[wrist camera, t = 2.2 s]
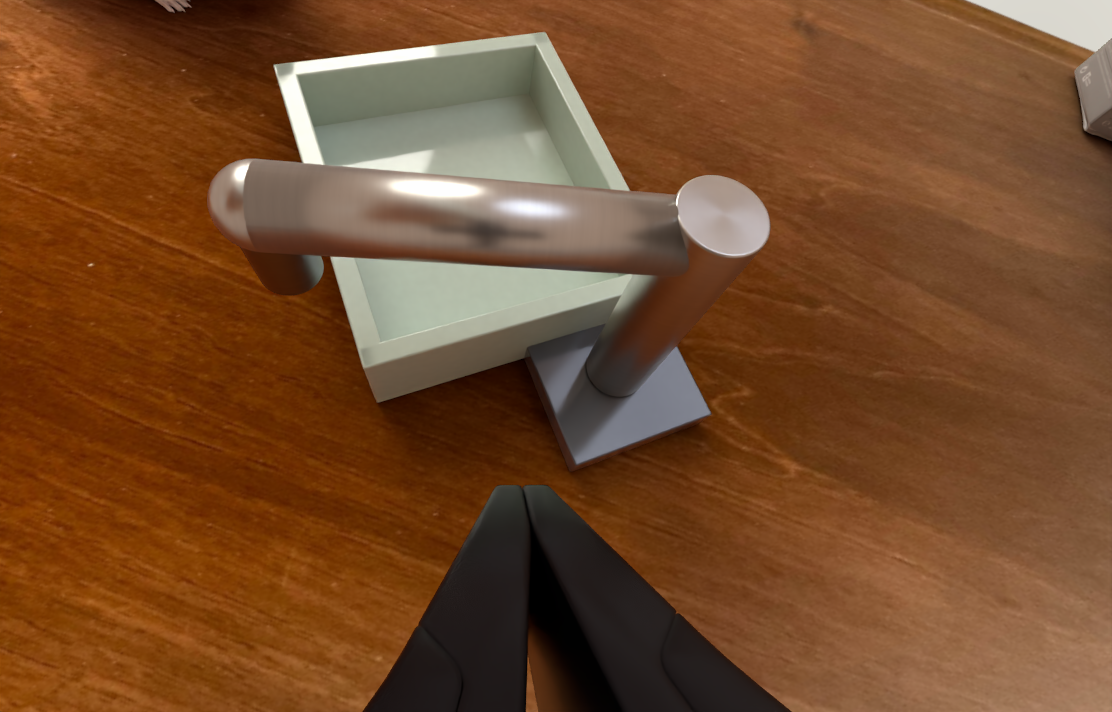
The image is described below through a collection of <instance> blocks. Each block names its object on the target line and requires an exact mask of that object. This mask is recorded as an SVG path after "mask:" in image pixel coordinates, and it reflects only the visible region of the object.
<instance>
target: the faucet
mask: <svg viewBox="0 0 1112 712" xmlns="http://www.w3.org/2000/svg"><path fill="white" fill-rule="evenodd" d="M207 204H208V210H209V213H210V216H211V218H212V221H213V223H214V224H215V226H216V227H217V228H218V230H219V231H220V232H221V233H222V235H224V236H225V237H226V238H227V239H228V240H230V241H231V242H232V243H234V244H236V245H238V246H239V247H240V248H241V249H242V251H243V253H244V254H245V256H246V258H247V259H248V261H249V263H250V264H251V266H252V268H253V269H254V271H255V272H256V274H257V276H258V277H259V279H260V281H261V282H262V284H263V285H264V286H265V287H266V288H267V289H269V290H270V291H272V292H274V293H277V294H281V295H298V294H301V293H304V292H306V291H308V290H310V289H311V288H313V287H314V286H315V285H316V284H317V283H318V282H319V280H320V279H321V277H322V274H323V269H324V265H323V260H322V258H321V256H330V257H347V258H364V259H380V260H397V261H414V262H431V263H448V264H465V265H481V266H498V267H515V268H532V269H549V270H566V271H582V272H599V273H616V274H633V275H632V277H631V279H630V281H629V282H628V284H627V286H626V288H625V290H624V291H623V293H622V295H621V297H620V299H619V301H618V302H617V304H616V306H615V308H614V310H613V312H612V313H611V315H610V317H609V319H608V321H607V322H606V324H605V326H604V328H603V330H602V332H601V333H600V335H599V337H598V339H597V341H596V342H595V344H594V346H593V348H592V350H591V352H590V353H589V356H588V358H587V373H588V376H589V378H590V380H591V382H592V383H593V384H594V385H595V386H596V388H598V389H599V390H600V391H602V392H603V393H605V394H608V395H610V396H615V397H623V396H628V395H631V394H633V393H634V392H636V391H637V390H638V389H639V388H640V387H641V386H642V385H643V384H644V382H645V381H646V380H647V379H648V378H649V377H650V376H651V374H652V373H653V372H654V371H655V370H656V369H657V368H658V366H659V365H660V364H661V363H662V362H663V361H664V360H665V358H666V357H667V356H668V355H669V354H670V353H671V352H672V350H673V349H674V348H675V347H676V346H677V345H678V344H679V342H680V341H681V340H682V339H683V338H684V337H685V336H686V334H687V333H688V332H689V331H690V330H691V329H692V328H693V326H694V325H695V324H696V323H697V322H698V321H699V320H700V318H701V317H702V316H703V315H704V314H705V313H706V312H707V310H708V309H709V308H710V307H711V306H712V305H713V304H714V302H715V301H716V300H717V299H718V298H719V297H720V296H721V295H722V293H723V292H724V291H725V290H726V289H727V288H728V287H729V285H730V284H731V283H732V282H733V281H734V280H735V279H736V277H737V276H738V275H739V274H740V273H741V272H742V271H743V269H744V268H745V267H746V266H747V265H748V264H749V263H750V261H751V260H752V259H753V258H754V257H755V256H756V255H757V253H758V252H759V251H760V250H761V249H762V248H763V246H764V245H765V244H766V242H767V240H768V237H769V234H770V219H769V215H768V212H767V210H766V208H765V206H764V204H763V203H762V201H761V200H760V199H759V198H758V197H757V195H756V194H755V193H754V192H752V191H751V190H750V189H749V188H747V187H746V186H745V185H743V184H741V183H739V182H737V181H735V180H733V179H730V178H727V177H723V176H717V175H705V176H700V177H697V178H694V179H692V180H690V181H688V182H687V183H686V184H684V185H683V186H682V187H681V189H680V190H679V191H678V193H677V195H672V194H660V193H649V192H637V191H625V190H614V189H602V188H590V187H579V186H567V185H555V184H544V183H532V182H520V181H509V180H497V179H485V178H474V177H462V176H450V175H438V174H427V173H415V172H403V171H392V170H380V169H368V168H357V167H345V166H333V165H322V164H310V163H298V162H287V161H275V160H263V159H244V160H239V161H236V162H233V163H231V164H229V165H227V166H225V167H224V168H223V169H222V170H220V171H219V172H218V173H217V174H216V176H215V177H214V179H213V180H212V182H211V184H210V187H209V191H208V196H207Z"/></svg>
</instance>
